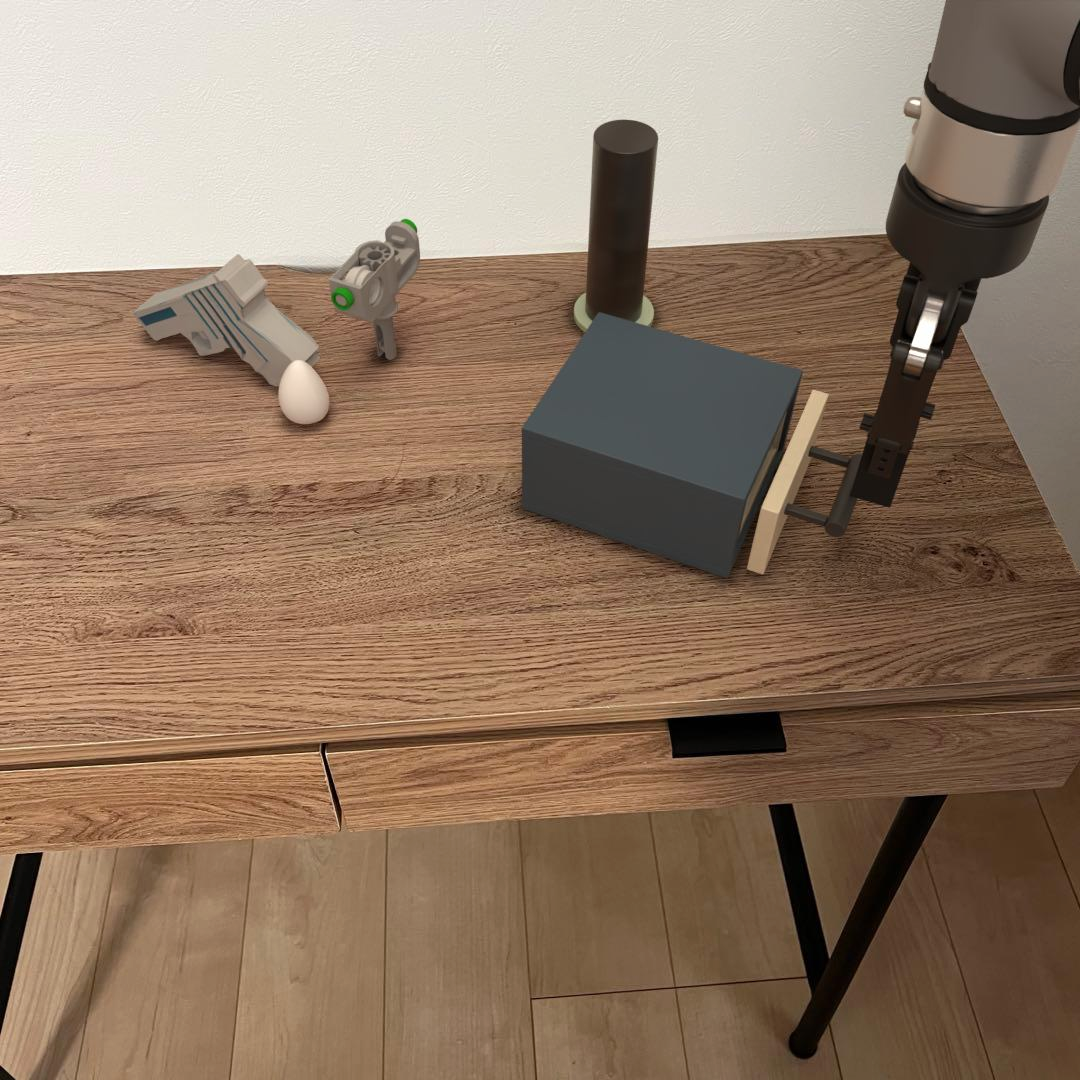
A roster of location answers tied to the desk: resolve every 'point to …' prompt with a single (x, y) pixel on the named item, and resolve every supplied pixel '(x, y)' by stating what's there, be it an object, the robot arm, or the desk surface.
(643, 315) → the coaster
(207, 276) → the toy gun
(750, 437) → the cabinet
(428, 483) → the desk surface
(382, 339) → the mechanical component
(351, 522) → the desk surface
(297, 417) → the egg
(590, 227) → the dark brown cylinder
